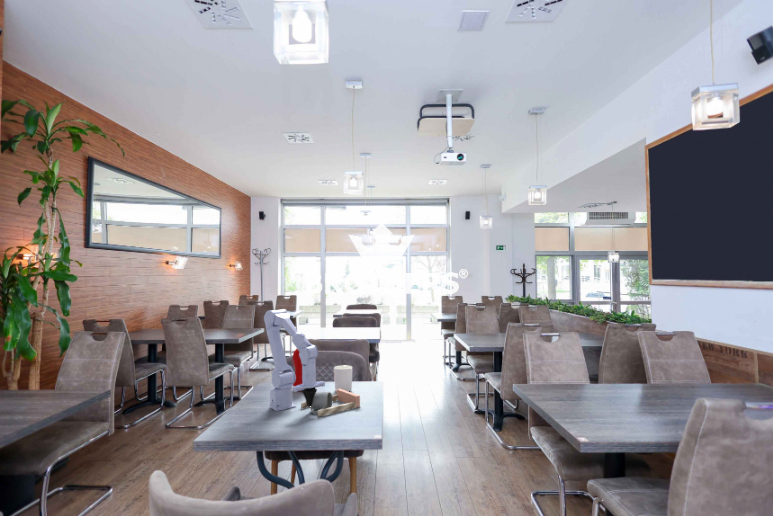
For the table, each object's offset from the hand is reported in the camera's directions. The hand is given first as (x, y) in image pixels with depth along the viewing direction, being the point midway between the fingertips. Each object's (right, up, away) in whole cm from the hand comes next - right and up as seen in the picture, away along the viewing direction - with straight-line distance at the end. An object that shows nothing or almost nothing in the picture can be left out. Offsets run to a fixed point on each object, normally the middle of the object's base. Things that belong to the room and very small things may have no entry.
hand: (309, 405), depth 184 cm
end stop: (+16, -3, +12) cm, 20 cm away
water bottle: (-11, -5, +38) cm, 40 cm away
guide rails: (+8, -3, +6) cm, 10 cm away
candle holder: (+11, -5, +34) cm, 36 cm away
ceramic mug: (+5, -3, +2) cm, 6 cm away
